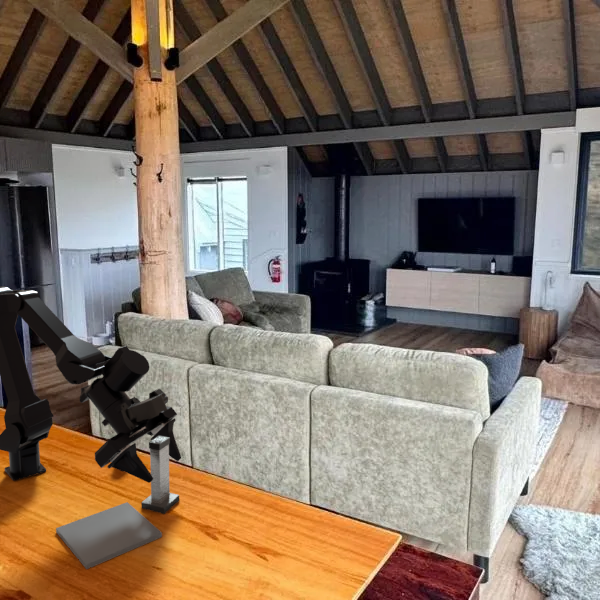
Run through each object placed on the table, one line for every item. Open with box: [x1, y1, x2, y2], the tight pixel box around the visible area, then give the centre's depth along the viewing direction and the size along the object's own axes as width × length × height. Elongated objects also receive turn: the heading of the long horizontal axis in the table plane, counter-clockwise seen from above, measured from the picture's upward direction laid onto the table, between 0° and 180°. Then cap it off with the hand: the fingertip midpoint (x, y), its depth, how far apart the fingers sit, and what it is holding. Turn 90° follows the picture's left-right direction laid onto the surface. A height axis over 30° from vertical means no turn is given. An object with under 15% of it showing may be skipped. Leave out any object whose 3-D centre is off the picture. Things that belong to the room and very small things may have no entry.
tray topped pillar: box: [140, 436, 180, 515], centre depth 103 cm, size 5×5×13 cm
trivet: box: [55, 501, 163, 570], centre depth 95 cm, size 13×13×1 cm
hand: (166, 469), depth 103 cm, fingers open, 9 cm apart
